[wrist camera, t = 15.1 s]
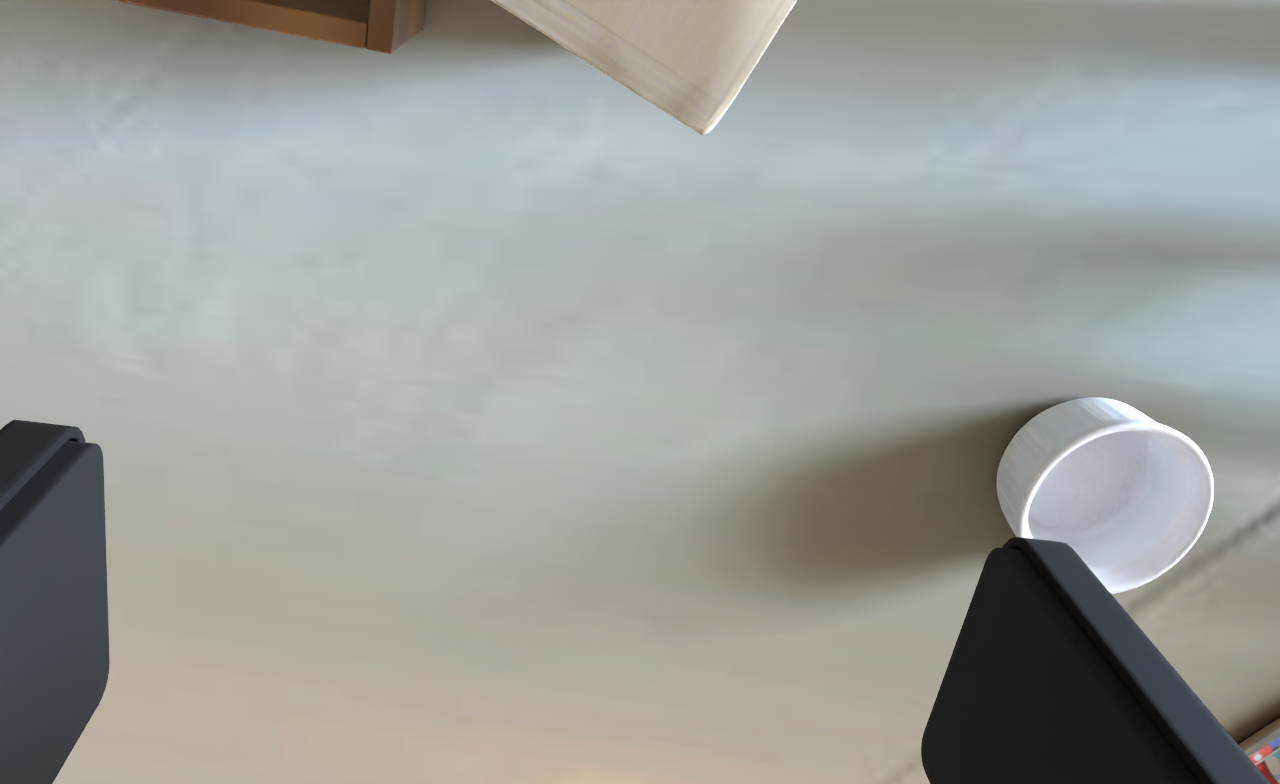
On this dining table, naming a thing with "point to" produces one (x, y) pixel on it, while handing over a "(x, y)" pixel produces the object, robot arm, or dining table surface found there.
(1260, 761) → the puzzle board
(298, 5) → the open wooden box
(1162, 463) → the ramekin
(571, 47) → the toy refrigerator
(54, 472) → the robot arm
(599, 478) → the dining table surface
